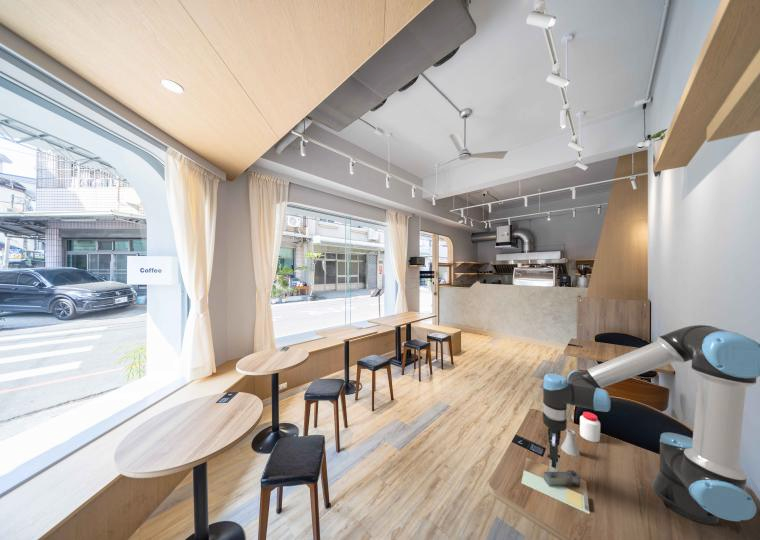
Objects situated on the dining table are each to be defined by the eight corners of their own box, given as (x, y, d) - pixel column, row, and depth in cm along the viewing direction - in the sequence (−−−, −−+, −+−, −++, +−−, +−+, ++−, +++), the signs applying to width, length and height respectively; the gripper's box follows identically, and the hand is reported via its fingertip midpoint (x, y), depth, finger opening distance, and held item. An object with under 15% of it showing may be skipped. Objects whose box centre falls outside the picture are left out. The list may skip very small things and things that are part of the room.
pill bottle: (581, 429, 130) (582, 408, 130) (601, 437, 124) (601, 415, 124) (577, 436, 125) (578, 414, 125) (598, 444, 119) (598, 421, 119)
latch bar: (574, 478, 98) (574, 467, 98) (582, 486, 94) (583, 476, 94) (542, 478, 97) (542, 468, 97) (550, 487, 93) (550, 476, 93)
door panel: (587, 500, 90) (587, 492, 90) (589, 517, 84) (589, 509, 84) (523, 472, 102) (523, 466, 102) (521, 486, 95) (521, 478, 95)
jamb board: (585, 484, 97) (586, 481, 97) (587, 499, 90) (587, 496, 90) (526, 460, 108) (526, 457, 108) (523, 472, 102) (523, 469, 102)
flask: (584, 460, 109) (584, 437, 109) (565, 458, 110) (565, 435, 110) (574, 449, 116) (575, 427, 116) (557, 446, 117) (557, 425, 117)
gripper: (544, 404, 104) (543, 458, 106) (541, 420, 94) (540, 480, 96) (566, 410, 100) (565, 467, 101) (566, 428, 90) (565, 490, 91)
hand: (553, 473), depth 98 cm, fingers closed
